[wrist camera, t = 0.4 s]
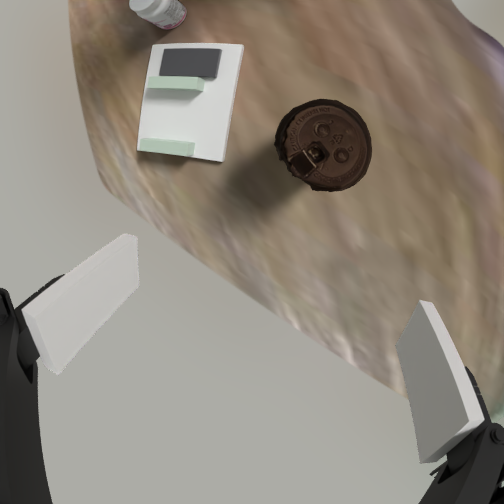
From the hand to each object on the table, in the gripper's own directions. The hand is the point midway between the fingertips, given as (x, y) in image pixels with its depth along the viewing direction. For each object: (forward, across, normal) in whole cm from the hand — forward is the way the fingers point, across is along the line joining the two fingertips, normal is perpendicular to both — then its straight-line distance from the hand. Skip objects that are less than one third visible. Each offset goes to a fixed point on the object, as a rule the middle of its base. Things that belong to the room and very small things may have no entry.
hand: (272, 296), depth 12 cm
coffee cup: (+27, +2, +6) cm, 27 cm away
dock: (+26, -16, +9) cm, 32 cm away
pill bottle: (+27, -21, +22) cm, 41 cm away
